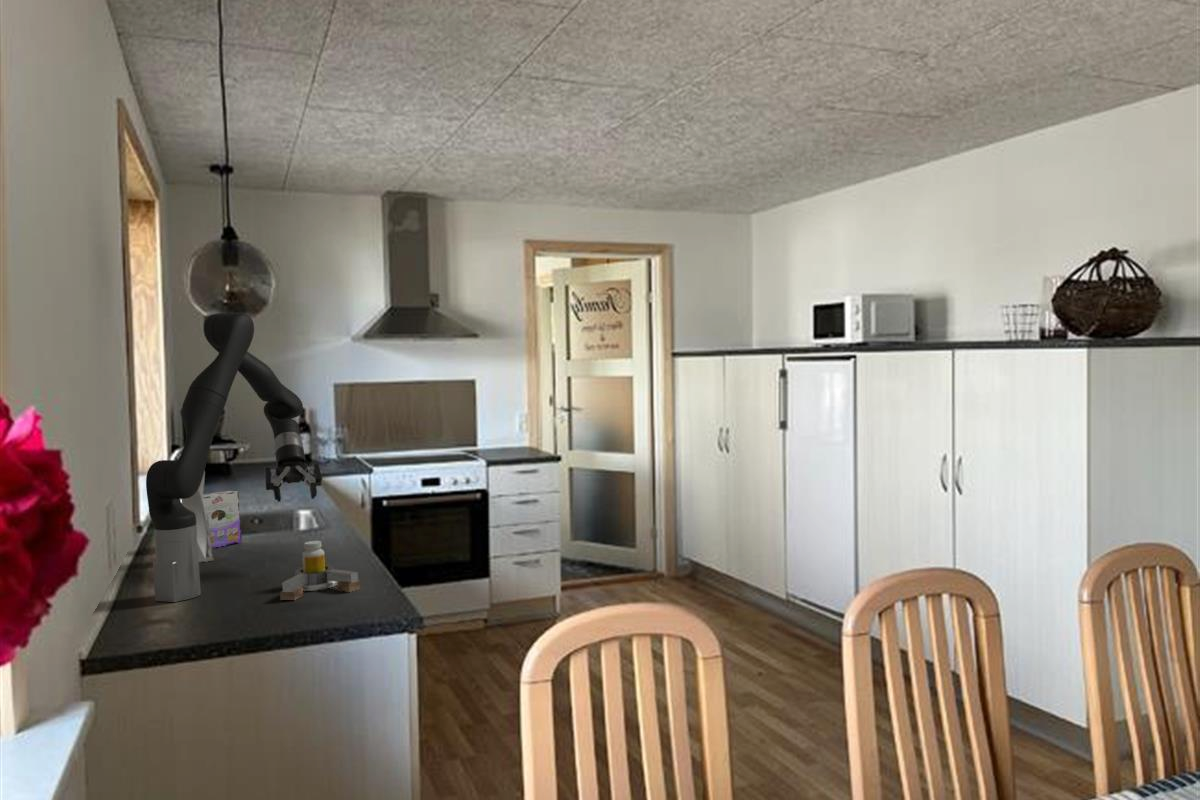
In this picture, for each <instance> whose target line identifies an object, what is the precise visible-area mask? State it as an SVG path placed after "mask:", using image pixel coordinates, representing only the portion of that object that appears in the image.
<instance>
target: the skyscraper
mask: <svg viewBox="0 0 1200 800" xmlns="http://www.w3.org/2000/svg"><path fill="white" fill-rule="evenodd" d="M205 479H206V471H205V470H204V474H203V478H202V481H201V484H200V486H199V488H198V490H197V492H196V493H195V494H194V495H193V496H191V497H190V498H186V499H180V501H181V503H182V505H183V506H184V507H185V508H187V509H188V510H190V511H192V512H194V513H195V515H196V527H197V544H198V559H199V564H202V563H201V562H206V563H209V562H208V561H214V555H213V554H214V553H213V549H212V544H211V529H209V520H208V515H205V509H204V505H203V495H204V491H205ZM206 516H207V521H206Z"/></svg>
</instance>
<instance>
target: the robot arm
mask: <svg viewBox="0 0 1200 800" xmlns="http://www.w3.org/2000/svg"><path fill="white" fill-rule="evenodd" d="M254 332H255V324H254V321H253V319H252V317H251V316H250V315H249V314H247V313H244V312H226V313H225V312H219V313H214V314H210V315H209V316H207V318H206V319H205V321H204V324H203V334H204V337H205V339H206V341H207V342H208V343H209V345H210V346H211V347H212V348H213V349H214V350H215V351H216V352H217V354H218V355H216V357H215V358H214V360H213V361H211V363H210V364H209V365H208V366H207V367H205V368H204V369H203V370H202V371H201V372H200V373H199V374H198V375H197V376H196V377H195V378H194V380H193V381H192V382H191V384H190V385H189V387H188V390H187V393H186V396H185V397H184V400H183V402H182V406H181V416H182V423H183V426H184V430H185V441H184V444H183V448H182V451H181V453H180V456H179V457H178V459H170V460H169V459H165V460H163V459H161V460H157V461H155V462H153V463H152V464H151V465H150V467H148V469H147V473H146V475H145V476H146V479H145V488H146V496H147V506H148V513H149V517H150V519H151V521H152V523H153V531H154V533H153V534H154V549H155V551H154V552H155V560H154V561H153V562H152V572H153V585H154V587H153V588H154V601H155V602H166V603H167V602H169V603H177V602H180V601H181V602H182V601H187V600H190V599H194V598H196V597H199V596H200V595H201V593H202V591H201V579H200V563H199V559H198V544H197V527H196V515H195V513H194V512H192V511H190V510H188V509H187V508H185V507H184V506H183V505H182V500H181V499H186V498H190V497H191V496H193V495H194V494H195V493H196V492H197V490H198V488H199V486H200V484H201V481H202V478H203V474H204V471H205V469H206V465H207V460H208V457H209V453H210V449H211V445H212V442H213V439H214V435H215V434H216V430H217V427H218V424H219V422H220V419H221V417H222V414H223V412H224V410H225V407H226V403H227V400H228V397H229V394H230V391H231V388H232V385H233V383H234V382H235V379H236V376H237V374H238V373H239V374H241V376H242V377H243V378H244V379H245V381H246V382H247V383H248V384H249V385H250V387H251V388H252V390H253V392H254V393H255V394H256V396H258V398H259V399H260V400H262V401H263V402H264V403H265V404H264V407H263V414H264V416H265V418H266V420H267V421H268V423H269V425H270V427H271V429H272V433H273V440H274V446H273V447H274V455H275V461H276V462H275V463H276V469H275V468H272V469H271V467H269V466H267V467H265V475H264V476H265V490H266V491H270V490H272V491H273V496H274V501H277V502H278V503H279V502H282V499H281V498H282V496H281V488H282V487H283V486H284V485H285V484H286V483H287V484H292V483H300V482H301V483H303V484H304V485H307V486H308V487H309V492H310V499H311V500H313V499H315V497H317V493H318V490H317V487H321V486H322V484H323V483H322V481H323V477H322V473H321V469H320V466H319V464H318V463H315V464H313V465H311V466H309V465H308V464H307V462H306V455H305V450H304V449H305V448H304V443H303V440H302V436H301V431H300V430H301V429H300V425H299V423H298V422H297V420H295V418H297V417H299V416H301V415H302V413H303V411H304V405H303V402H302V400H301V398H300V397H299V396H298V395H297V394H295V393H294V392H293V391H292V390H291V389H289V388H287V387H286V386H284V384H282V383H281V381H280V379H279V378H278V377H277V375H276V374H275V373H274V371H273V369H272V368H270V367H269V365H268V364H266V363H264V362H263V361H262V360H260V359H259V358H258V357H256V356H254V354H252V353H250V352H249V351H248V350H249V348H250V347H251V343H252V341H253V339H254V334H255V333H254ZM309 472H310V473H311V474H312V475H314V478H315V479H314V478H313V477H312V476H311V475H310V473H309ZM274 475H276V476H277V479H276V480H275V481H274V482H272V478H273V477H274Z"/></svg>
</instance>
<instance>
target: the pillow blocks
mask: <svg viewBox="0 0 1200 800" xmlns="http://www.w3.org/2000/svg"><path fill="white" fill-rule="evenodd" d="M336 587H337V588H336V589H337V592H342V591H345V592H344V593H349V592H350V593H352V591H353V592H356V591H358V590H361V589H362V588H361V580H359V579H358V581H357V582H354V583H346V582H337V586H336ZM355 590H356V591H355ZM279 595H280V596H279V597H280V598H279V599H280V601H281V600H295V601H297V600H299V599H300V597H301V598H302V597H304V592H303V587H300V588H298V589H296V590H294V591H292V592H283V590H281V591H280V593H279ZM298 598H299V599H298ZM296 599H297V600H296Z"/></svg>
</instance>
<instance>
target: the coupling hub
mask: <svg viewBox="0 0 1200 800" xmlns="http://www.w3.org/2000/svg"><path fill="white" fill-rule="evenodd" d="M333 569H335V568H334V566H332V565H331V564H330V565H329V564H325V570H324V571H321V572H315V573H303V567H300V568H297V569H296V570H295V571H294V576H296V575H298V574H308V583H307V584H305V585H303V586H302V587H303V591H304V592H303V593H306V592H305V591H313V592H319V591H318V590H321V591H324V589H326V590H328V589H327V588H330V589H332V588H331V587H333V588H335V587H334V586H336V585H337V582H338V581H330V580H327V571H329V570H333ZM336 587H337V586H336Z"/></svg>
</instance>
